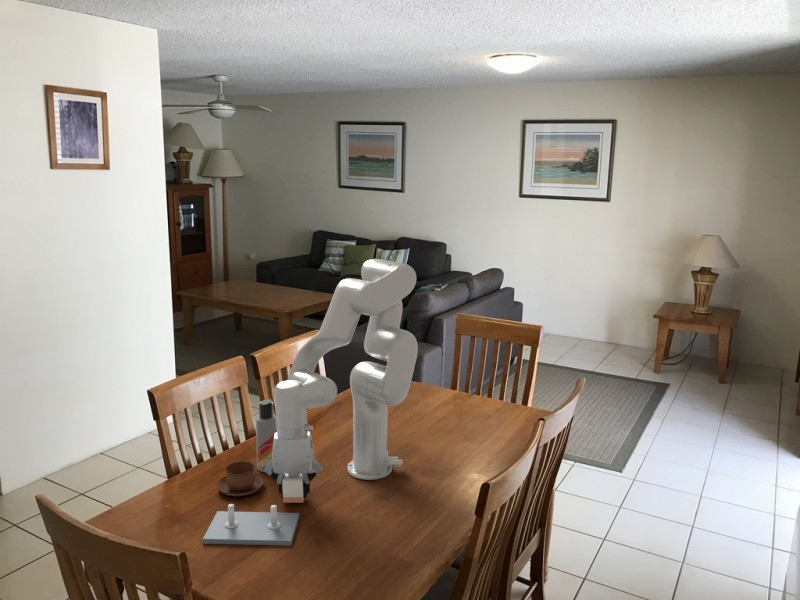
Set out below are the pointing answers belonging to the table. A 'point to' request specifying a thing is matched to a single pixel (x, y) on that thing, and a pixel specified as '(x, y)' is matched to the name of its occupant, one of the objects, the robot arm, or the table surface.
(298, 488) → the sleeve
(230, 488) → the cup and saucer
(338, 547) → the table surface
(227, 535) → the pin board
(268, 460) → the lotion bottle
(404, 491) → the table surface
